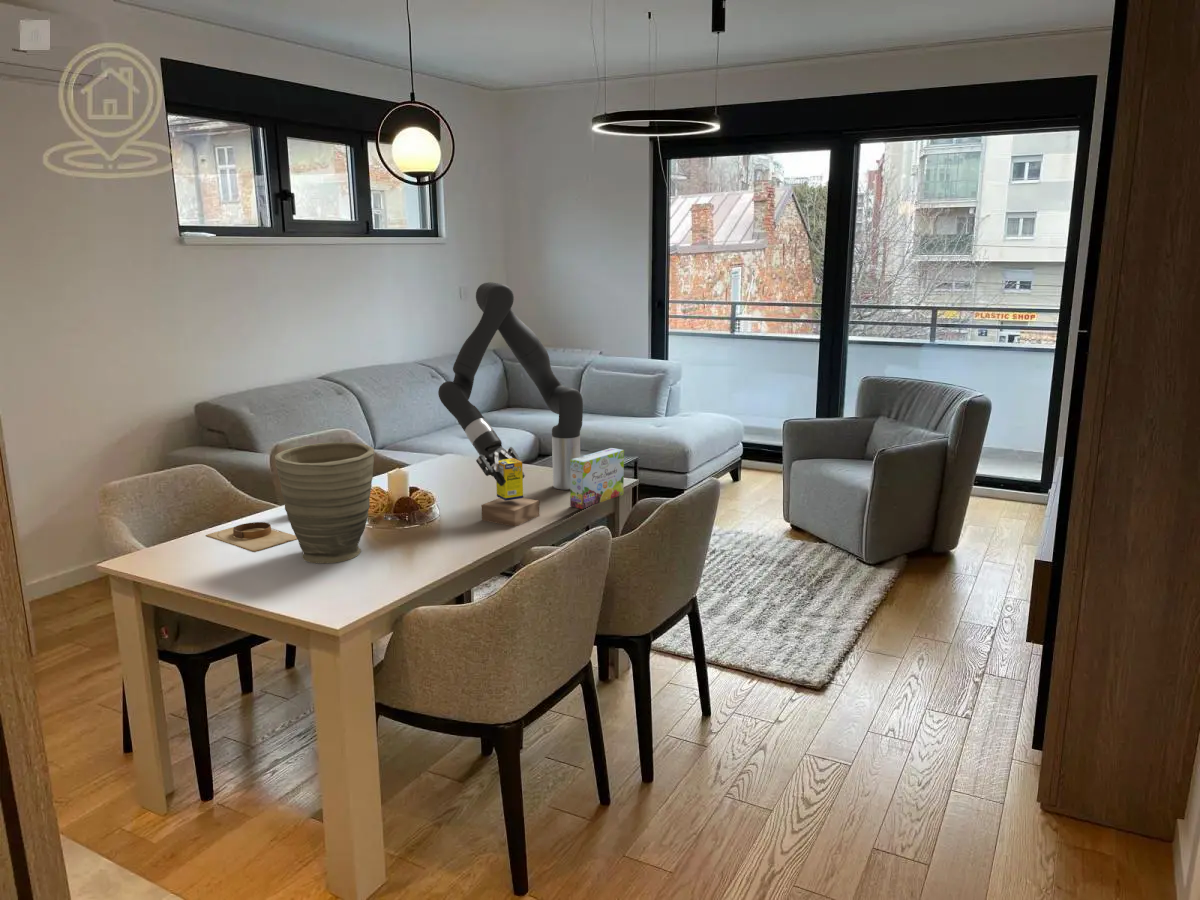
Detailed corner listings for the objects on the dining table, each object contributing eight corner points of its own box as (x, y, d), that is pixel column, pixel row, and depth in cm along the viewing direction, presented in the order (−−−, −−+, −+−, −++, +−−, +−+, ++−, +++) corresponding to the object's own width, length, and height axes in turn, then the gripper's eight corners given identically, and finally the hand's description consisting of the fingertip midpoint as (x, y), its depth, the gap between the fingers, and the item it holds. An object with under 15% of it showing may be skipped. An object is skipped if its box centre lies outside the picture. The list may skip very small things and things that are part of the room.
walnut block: (507, 511, 266) (506, 495, 265) (539, 516, 260) (539, 500, 259) (482, 521, 256) (481, 504, 255) (515, 527, 250) (514, 510, 249)
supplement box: (523, 498, 256) (522, 461, 253) (505, 501, 252) (504, 464, 250) (514, 493, 260) (513, 457, 258) (496, 496, 257) (495, 460, 255)
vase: (269, 554, 230) (270, 440, 229) (362, 550, 241) (364, 441, 239) (278, 573, 208) (280, 446, 207) (380, 567, 219) (383, 447, 217)
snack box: (584, 510, 265) (583, 461, 262) (569, 507, 268) (568, 459, 265) (624, 494, 282) (624, 448, 278) (610, 491, 285) (610, 446, 282)
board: (202, 537, 244) (201, 526, 244) (251, 524, 256) (250, 513, 256) (255, 555, 230) (253, 543, 229) (304, 539, 242) (303, 528, 241)
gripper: (471, 433, 251) (502, 478, 247) (505, 425, 262) (536, 468, 258) (459, 449, 255) (489, 494, 251) (493, 440, 266) (523, 483, 262)
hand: (513, 481), depth 255 cm, fingers closed on supplement box, 7 cm apart
